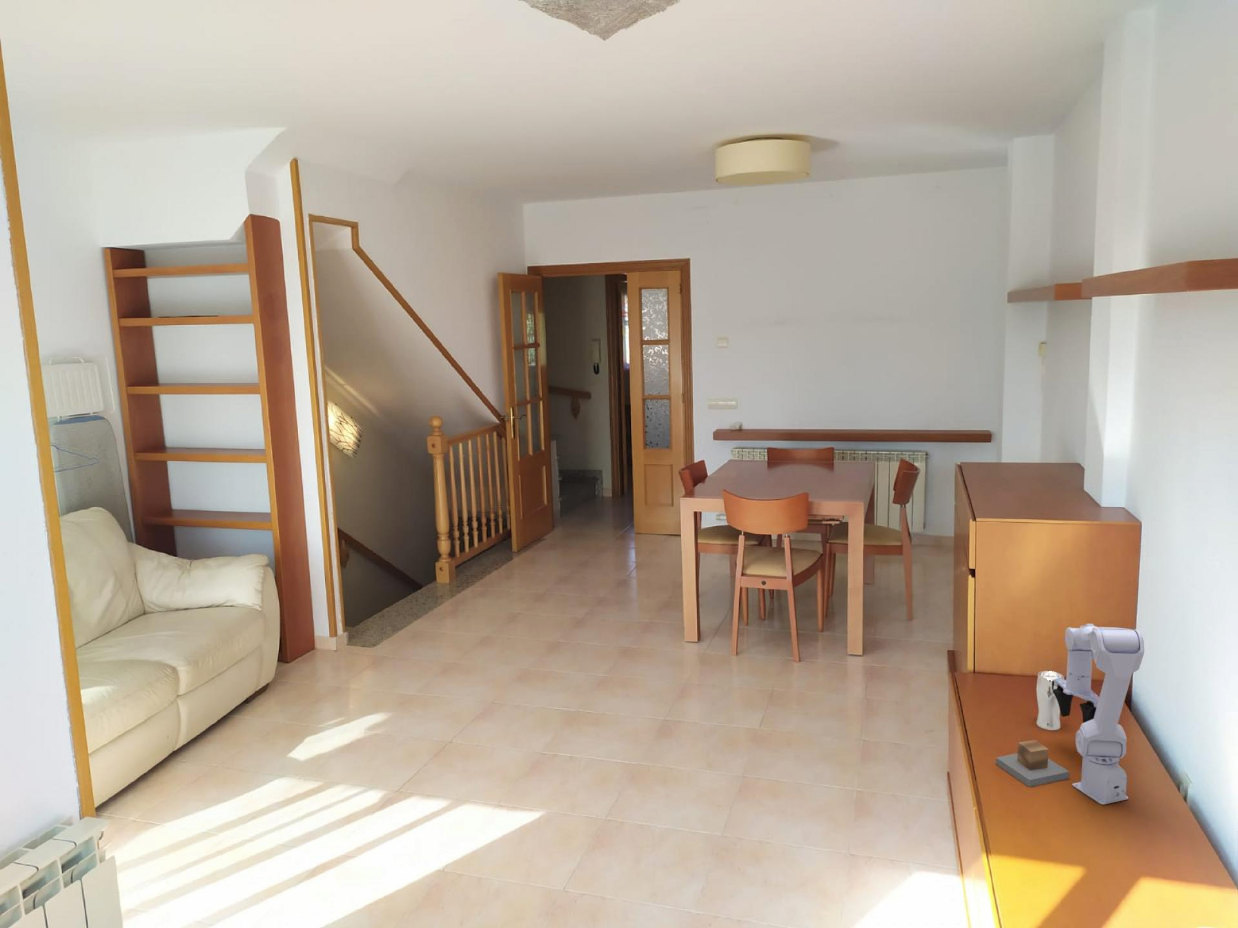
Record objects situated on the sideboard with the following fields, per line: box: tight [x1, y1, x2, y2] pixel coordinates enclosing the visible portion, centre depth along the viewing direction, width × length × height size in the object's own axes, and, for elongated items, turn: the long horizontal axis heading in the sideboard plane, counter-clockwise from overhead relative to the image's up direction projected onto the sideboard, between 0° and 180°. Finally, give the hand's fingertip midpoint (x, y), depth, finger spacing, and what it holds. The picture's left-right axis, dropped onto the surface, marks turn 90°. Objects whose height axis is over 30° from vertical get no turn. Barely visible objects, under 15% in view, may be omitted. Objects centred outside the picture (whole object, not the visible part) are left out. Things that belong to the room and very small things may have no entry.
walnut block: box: [1017, 739, 1049, 770], centre depth 226 cm, size 5×5×5 cm
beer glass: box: [1036, 670, 1065, 731], centre depth 250 cm, size 7×7×15 cm
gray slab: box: [995, 752, 1070, 788], centre depth 227 cm, size 12×12×2 cm
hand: (1076, 721), depth 233 cm, fingers open, 7 cm apart
